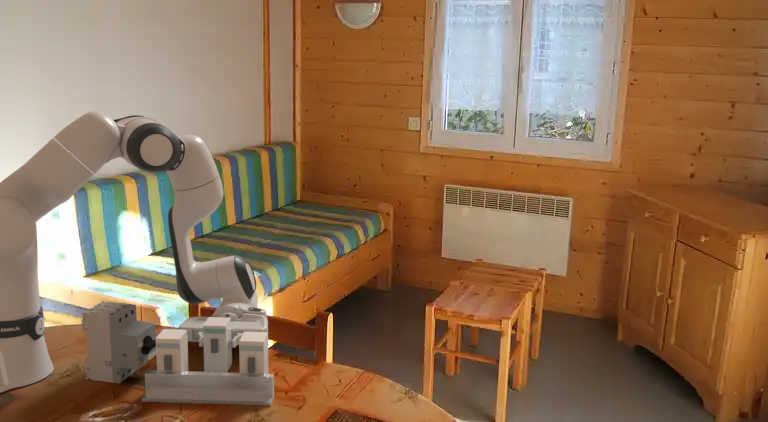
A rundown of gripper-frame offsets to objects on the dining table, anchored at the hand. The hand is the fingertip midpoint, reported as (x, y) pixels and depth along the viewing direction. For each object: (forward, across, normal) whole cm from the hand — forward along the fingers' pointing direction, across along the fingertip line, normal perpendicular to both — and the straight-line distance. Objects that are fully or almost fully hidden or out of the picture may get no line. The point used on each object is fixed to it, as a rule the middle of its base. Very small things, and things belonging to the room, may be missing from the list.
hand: (216, 344), depth 156 cm
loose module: (-1, 0, +6) cm, 6 cm away
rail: (+14, +1, +6) cm, 15 cm away
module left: (+9, -7, +6) cm, 13 cm away
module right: (+9, +10, +6) cm, 15 cm away
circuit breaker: (+4, -19, +6) cm, 20 cm away
